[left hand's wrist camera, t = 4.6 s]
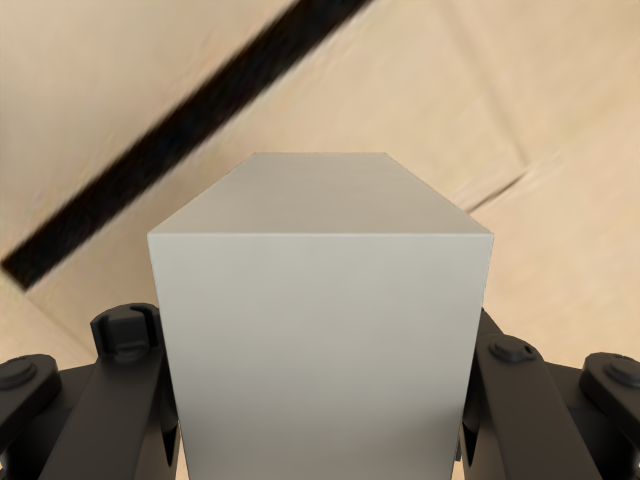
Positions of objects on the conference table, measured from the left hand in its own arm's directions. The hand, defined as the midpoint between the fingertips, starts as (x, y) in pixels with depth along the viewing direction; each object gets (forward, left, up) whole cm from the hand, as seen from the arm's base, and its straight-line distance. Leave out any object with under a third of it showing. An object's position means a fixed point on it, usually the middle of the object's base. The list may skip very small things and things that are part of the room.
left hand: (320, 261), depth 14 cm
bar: (+9, 0, -1) cm, 9 cm away
